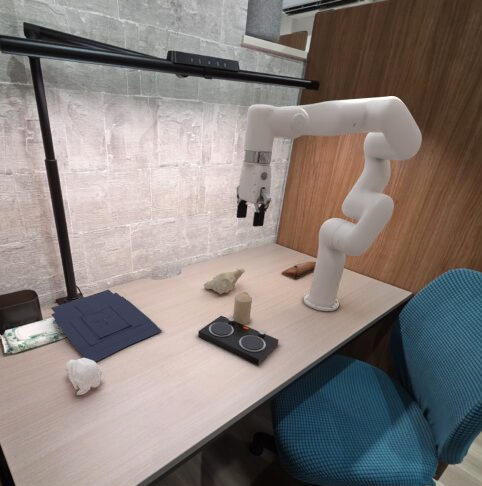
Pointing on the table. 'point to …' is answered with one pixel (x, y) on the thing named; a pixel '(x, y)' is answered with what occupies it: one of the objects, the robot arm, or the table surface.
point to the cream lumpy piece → (224, 281)
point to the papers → (102, 324)
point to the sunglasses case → (299, 270)
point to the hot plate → (239, 339)
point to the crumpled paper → (84, 374)
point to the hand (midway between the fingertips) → (249, 221)
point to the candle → (242, 308)
